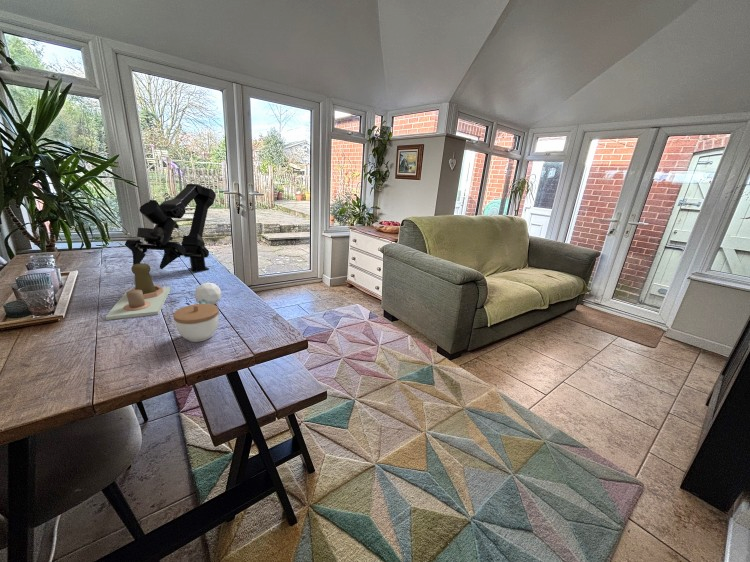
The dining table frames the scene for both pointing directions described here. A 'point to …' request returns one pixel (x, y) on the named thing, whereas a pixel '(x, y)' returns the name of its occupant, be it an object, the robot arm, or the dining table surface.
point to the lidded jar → (197, 321)
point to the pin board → (142, 312)
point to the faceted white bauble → (207, 293)
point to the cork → (143, 278)
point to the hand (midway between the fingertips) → (147, 267)
